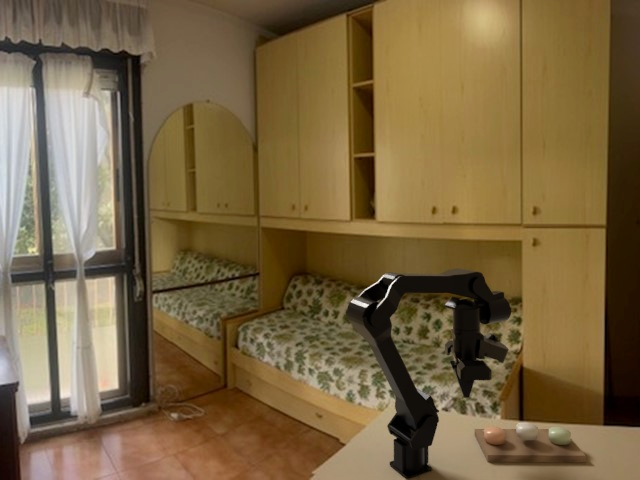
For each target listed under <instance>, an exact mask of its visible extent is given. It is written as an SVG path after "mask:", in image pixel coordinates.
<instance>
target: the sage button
mask: <svg viewBox="0 0 640 480" xmlns="http://www.w3.org/2000/svg"><path fill="white" fill-rule="evenodd" d="M548 429H549V440H550V441H551V442H553V443H555V444H559V445H567V444H570V441H571V440H572V438H571V435H572V433H571V431H570V430H569V429H567V428H565V427H561V426H551V427H549V428H548Z"/></svg>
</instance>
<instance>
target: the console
mask: <svg viewBox="0 0 640 480" xmlns="http://www.w3.org/2000/svg"><path fill="white" fill-rule="evenodd" d="M484 429H485V428H474V433H473V434H474V437H475V439H476V441H477V443H478V445H479V448H480V449H481V452H482V454H483V455H484V457H485V459H486V462H487V463H586V455H585V453H584V452H583V451H582V450H581V448H579V446H578V445H577V444H576V443H575V442H574V441H573V440H572V439H571V441H570V444H567V445H559V444H555V443H553V442H551V441H550V440H549V428H538V438H537V439H535V440H524V439H521V438H519V437H518V436H517V435H516V428H502V429H503V430H504V431H505V443H503V444H500V445H494V444H490V443H488V442H486V441H485V440H484Z"/></svg>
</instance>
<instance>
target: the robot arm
mask: <svg viewBox="0 0 640 480" xmlns="http://www.w3.org/2000/svg"><path fill="white" fill-rule="evenodd" d="M405 294H451V295H456V297H455V296H451V297H450V299H449V300H448V301H447V302H445V304H444V308H446V309H450V310H452V328H450V334H451V335H452V339H451V340H448V341H447V342H446V343H445V344H444V353H445V355H446V356H450V355H451V354H452V357H453V360H450V361H449V364H450V366H451V369H452V371H453V373H454V376H455V379H456V381H457V384H458V386H459V388H460V391H461V394H462V396H463V398H465V399H469V398H470V395H471V393H472V390H473V386H474V383H475V381H490V380H492V377H493V376H492V371H493V370H492V369H491V368H490V366H489V365H488V363H486V362H485V361H484V360H485V357H487V358H489V359H492V360H496V361H497V362H498V363H502V364H504V362H505V359H506V358H507V355H508V353H509V350H510V349H509V348H508V347H507V346H506V345H505V344H504V343H502V341H499V340H498V336H497V335H496V334H494V333H491V332H489V333H488V334H486V335H485V336H484V335H483V334H482V331H481V324H482V325H490V324H491V325H492V324H495V323H501V322H506V321H508V320H509V319H510V318H511V315H512V307H511V305H510V303H509V301H508V299H507V298H506V297H505V291H502V290H494V291H492V290H491V288H490V286H489V285H488V284H487V282H486V279H485V276H484V274H483V273H482V272H480V271H476V270H475V271H474V270H470V269H466V268H461V267H457V268H452V269H447V270H445V271H443V272H441V273H419V272H418V273H407V272H406V273H398V272H393V271H389V272H386V273H384V274H382V276H381V277H380V278H379V279H378V281H376V282H375V283H372V284H371V285H369V286H368V287H367V288H365V289H363V290H362V292H361V293H360V294H359V295H358V296H356V297H355V298H353V299H352V300H350V302H349V303H348V306H347V308H346V311H345V316H346V318H347V321H348V323H350V324H351V326H352V327H353V328H354V330H355V331H356V333H358V335H360V336H361V337H362V338H363V339H364V340H365V341H366V342H367V344H368V345H369V347H370V349H371V350H372V353H373V354H374V358H376V361H377V363H378V365H379V367H380V368H381V371H382V372H383V375H384V377H385V379H386V381H387V383H388V385H389V386H390V388H391V391H392V393H393V394H394V397H395V401H394V402H395V403H394V409H395V412H396V413H395V414H394V415H393V417H391V418H392V419H391V420H390V421H389V422H388V423H387V425H386V426H387V430H388V432H389V434H390V435H392V436H393V437H395V438H393V460H391V461H389V466H391V467H392V468H393V469H394V470H395V471H397V472H398V473H400V474H401V475H402V476H403V477H404V478H405V479H410V478H414V477H417V476H420V475H423V474H426V473H428V472H431V471H432V470H433V467H431V465H429V447H430V446H432V445H433V442H434V439H435V435H436V431H437V427H438V423H439V422H440V418H439V414H438V413H439V412H440V410H439V409H438V408H437V407H436V405H435V401H434V399H433V397H432V395H429V394H428V393H426V392H424V391H422V390H421V389H419V388H417V387H416V385H415V383H414V381H413V379H412V377H411V374H410V372H409V371H408V368H407V366H406V364H405V363H404V360H403V358H402V356H401V354H400V352H399V350H398V348H397V346H396V344H395V342H394V340H393V337H392V330H393V329H392V327H393V324H392V321H391V318H392V317H393V316H394V314H395V313H396V312H397V310H398V307H399V305H400V303H401V300H402V297H403V296H404V295H405ZM457 296H460V297H464V298H461V299H460V298H459V297H457ZM378 301H380V302H378Z"/></svg>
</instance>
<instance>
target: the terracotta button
mask: <svg viewBox="0 0 640 480" xmlns="http://www.w3.org/2000/svg"><path fill="white" fill-rule="evenodd" d="M483 429H484V440H485V441H486V442H488V443H490V444H494V445H500V444H503V443H505V431H504V430H503V429H504V428H501V427H497V426H487V427H485V428H483Z"/></svg>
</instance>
